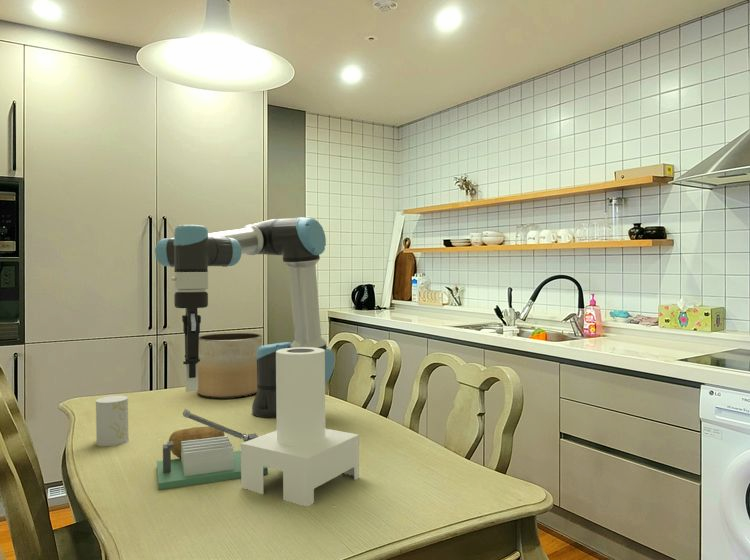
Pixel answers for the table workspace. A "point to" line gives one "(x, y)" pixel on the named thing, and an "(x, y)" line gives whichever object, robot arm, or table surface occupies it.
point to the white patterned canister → (112, 420)
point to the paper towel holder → (300, 432)
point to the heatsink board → (199, 478)
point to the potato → (192, 436)
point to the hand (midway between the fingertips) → (191, 390)
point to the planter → (228, 364)
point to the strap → (214, 425)
